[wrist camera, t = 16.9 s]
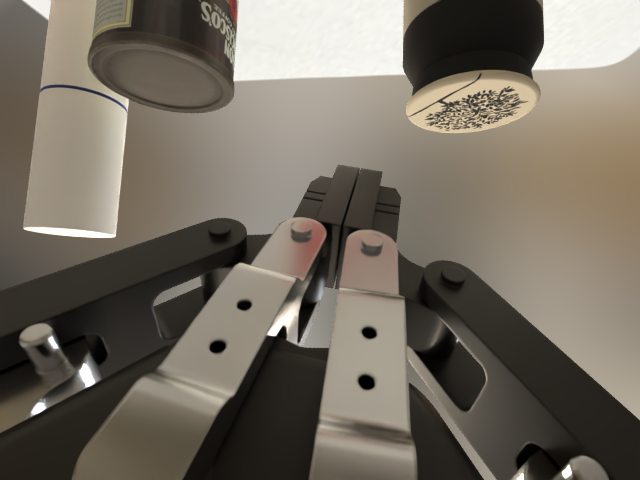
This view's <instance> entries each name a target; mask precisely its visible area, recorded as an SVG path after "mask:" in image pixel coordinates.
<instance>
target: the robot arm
mask: <svg viewBox="0 0 640 480" xmlns="http://www.w3.org/2000/svg"><path fill="white" fill-rule="evenodd" d="M359 171H360V174H359ZM381 177H382V171H375V170H369V169H363V168H361V170H360V168H357V167H351V166H344V165H338V166H337V168H336V171H335V173H334V176H333V178H329V177H323V176H320V177H318V178H317V179H315V180H314V181H312V182H311V183H310V185H309V187H308V189H307V192H306V193H305V195H304V197H303V199H302V201H301V203H300V205H299V207H298V209H297V211H296V213H295V214H294V216H293V218H290V219H287V220H285V221H283V222H281V223H280V224H279V225H278V226H277V228H276V229H275V231H274V232H273V233H272V234H267V235H247V231H246V228H245V226H244V225H243V224H242V223H240V222H239V221H236V220H233V219H228V218H217V219H211V220H208V221H205V222H202V223H199V224H196V225H193V226H190V227H187V228H184V229H181V230H178V231H176V232H172V233H169V234H167V235H164V236H161V237H158V238H155V239H152V240H149V241H146V242H143V243H140V244H137V245H134V246H131V247H128V248H125V249H123V250H120V251H116V252H113V253H111V254H108V255H105V256H102V257H99V258H96V259H93V260H90V261H87V262H84V263H81V264H78V265H75V266H73V267H69V268H66V269H63V270H60V271H57V272H54V273H52V274H49V275H46V276H43V277H40V278H37V279H34V280H31V281H28V282H25V283H22V284H19V285H16V286H13V287H10V288H7V289H4V290H1V291H0V480H484V479H483V478H482V476H481V475H480V473H479V472H478V470H477V469H476V467H475V466H474V464H473V463H472V461H471V460H470V458H469V457H468V456H467V454H466V453H465V451H464V450H463V448H462V447H461V445H460V444H459V442H458V441H457V439H456V438H455V437H454V435H453V434H452V432H451V431H450V429H449V428H448V426H447V425H446V423H445V422H444V420H443V419H442V418H441V416H440V415H439V413H438V412H437V410H436V409H435V408H434V406H433V405H432V404H431V403H430V401H429V400H428V399H427V398H426V397H425V396H424V395H423V394H422V393H421V392H420V391H419V390H418V389H417V388H416V387H414V386H413V385H412V384H410V383H409V382H408V361H409V362H410V363H411V365H412V366H413V368H414V369H415V370H416V371H417V373H418V374H419V376H420V377H421V378H422V380H423V381H424V382H425V384H426V385H427V386H428V388H429V389H430V390H431V392H432V393H433V394H434V396H435V397H436V398H437V400H438V401H439V402H440V404H441V405H442V407H443V408H444V409H445V410H446V412H447V413H448V415H449V416H450V417H451V418H452V420H453V421H454V422H455V424H456V425H457V427H458V428H459V429H460V431H461V432H462V433H463V434H464V436H465V437H466V439H467V440H468V441H469V443H470V444H471V445H472V447H473V448H474V450H475V451H476V452H477V453H478V455H479V456H480V458H481V459H482V460H483V462H484V463H485V464H486V466H487V467H488V468H489V470H490V471H491V472H492V474H493V475H494V476H495V478H496V479H497V480H640V420H639V419H638V418H637V417H636V416H634V415H633V414H632V413H631V412H630V411H629V410H627V408H625V407H624V406H623V405H622V404H621V403H620V402H619V401H618V400H616V399H615V398H614V397H613V396H612V395H611V394H610V393H609V392H607V391H606V390H605V389H604V388H603V387H602V386H601V385H600V384H598V383H597V382H596V381H595V380H594V379H593V378H592V377H591V376H589V375H588V374H587V373H586V372H585V371H584V370H583V369H582V368H580V367H579V366H578V365H577V364H576V363H575V362H574V361H573V360H571V359H570V358H569V357H568V356H567V355H566V354H565V353H564V352H563V351H561V350H560V349H559V348H558V347H557V346H556V345H555V344H554V343H552V342H551V341H550V340H549V339H548V338H547V337H546V336H545V335H543V334H542V333H541V332H540V331H539V330H538V329H537V328H536V327H534V326H533V325H532V324H531V323H530V322H529V321H528V320H527V319H525V318H524V317H523V316H522V315H521V314H520V313H519V312H518V311H516V310H515V309H514V308H513V307H512V306H511V305H510V304H509V303H508V302H506V301H505V300H504V299H503V298H502V297H501V296H500V295H499V294H497V293H496V292H495V291H494V290H493V289H492V288H491V287H490V286H488V285H487V284H486V283H485V282H484V281H483V280H482V279H481V278H479V277H478V276H477V275H476V274H475V273H474V272H472V271H471V270H470V269H469V268H467V267H465V266H463V265H461V264H458V263H455V262H452V261H435V262H432V263H430V264H429V265H427V266H426V267H425V268H423V267H421V266H418V265H416V264H414V263H412V262H410V261H409V260H407V259H406V258H405V257H403V256H402V255H401V254H400V252H399V251H398V247H397V244H396V239H397V231H398V230H397V229H398V221H399V211H400V202H401V197H400V195H399V194H398V192H397V190H396V189H395V188H389V187H383V186H380V183H381ZM199 276H200V278H201V284H202V286H201V287H198V288H196V289H194V290H191V291H189V292H187V293H185V294H182V295H180V296H177V297H175V298H173V299H171V300H168V301H166V302H164V303H161V304H159V305H157V306H153V303H154V300H155V299H156V297H157V296H158V295H159V294H160V293H161V292H163V291H165V290H168V289H170V288H172V287H174V286H177V285H180V284H182V283H184V282H187V281H189V280H191V279H194V278H196V277H199ZM336 276H337V279H336ZM335 279H336V286H335V289H338V294H337V301H336V307H335V314H334V321H333V327H332V334H331V340H330V346H329V348H304V347H302V346H303V344H304V342H305V339H306V337H307V334H308V332H309V330H310V327H311V325H312V323H313V320H314V318H315V315H316V313H317V311H318V308H319V305H320V298H321V297H322V294H323V291H324V288H325V287H329V288H333V286H334V283H335ZM458 340H460V341H461V342H462V343H463V345H464V346H465V347H466V348H467V349H468V350H469V351H470V352H471V353H472V354H473V356H474V357H475V358H476V359H477V360H478V361H479V362H480V364H481V365H482V367H483V368H482V367H481V365H480V364H479V363H478V362H477V361H476V360H475V359H474V358H473V357H472V355H471V354H470V353H469V352H468V351H467V350H466V349H465V348H464V347H463V346H462V345H461V343H460V342H459V341H458Z"/></svg>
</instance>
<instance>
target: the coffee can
mask: <svg viewBox="0 0 640 480" xmlns="http://www.w3.org/2000/svg"><path fill="white" fill-rule="evenodd" d="M237 15H238V0H97V2H96V10H95V18H94V27H93V35H92V44H91V47H90V49H89V53H88V58H87V60H88V67H89V69H90V71H91V72H92V74H93V75H94V76H95V77H96V78H97V80H98V81H99V82H101V83H102V84H103V85H104V86H106V87H107V88H109V89H110V90H112V91H113V92H115V93H117V94H119V95H121V96H123V97H125V98H127V99H129V100H132V101H134V102H137V103H139V104H142V105H146V106H149V107H153V108H156V109H161V110H166V111H171V112H179V113H180V112H181V113H204V112H211V111H215V110H218V109H220V108H223V107H224V106H226V105H227V104H229V103H230V102H231V100H232V99H233V97H234V81H233V76H234V61H235V47H236V32H237Z"/></svg>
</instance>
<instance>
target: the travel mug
mask: <svg viewBox="0 0 640 480" xmlns="http://www.w3.org/2000/svg"><path fill="white" fill-rule="evenodd" d="M543 45H544V25H543V0H404V26H403V69H404V72H405V74H406V75H407V77H408V79H409V81H410V82H411V84H412V86H413V93H412V97H411V99H410V100H409V102H408V104H407V108H406V113H407V116H408V118H409V119H410V121H411V122H412V123H414V124H415V125H417V126H419V127H421V128H424V129H426V130H430V131H435V132H443V133H466V132H475V131H482V130H487V129H491V128H495V127H499V126H502V125H505V124H507V123H510V122H512V121H515V120H517V119H519V118H521V117H522V116H524V115H525V114H527V113H528V112H530V111H531V110H532V109H533V108H534V107H535V106H536V104H537V103H538V101H539V99H540V88H539V86H538V84H537V83H536V82H535V81H534V80H533V77H532V72H531V69H532V67H533V66H534V64H535V62H536V60H537V58H538V56H539V54H540V53H541V51H542V48H543Z"/></svg>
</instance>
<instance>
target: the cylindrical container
mask: <svg viewBox="0 0 640 480" xmlns="http://www.w3.org/2000/svg"><path fill="white" fill-rule="evenodd" d="M96 2H97V0H51V7H50V15H49V23H48V32H47V39H46V48H45V55H44V64H43V72H42V80H41V88H40V96H39V104H38V112H37V120H36V128H35V136H34V145H33V152H32V161H31V169H30V177H29V185H28V193H27V201H26V209H25V217H24V225H23V229H25V230H28V231H33V232H40V233H47V234H55V235H66V236H77V237H96V238H110V237H115V236H116V227H117V217H118V206H119V196H120V185H121V175H122V165H123V153H124V144H125V133H126V123H127V113H128V102H129V99H127V98H125V97H123V96H121V95H119V94H117V93H115V92H113V91H112V90H110V89H109V88H107V87H106V86H104V85H103V84H102V83H101V82H99V81H98V80H97V78H96V77H95V76H94V75H93V74H92V72H91V71H90V69H89V67H88V60H87V58H88V53H89V49H90V47H91V44H92V35H93V27H94V18H95V10H96Z"/></svg>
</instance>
